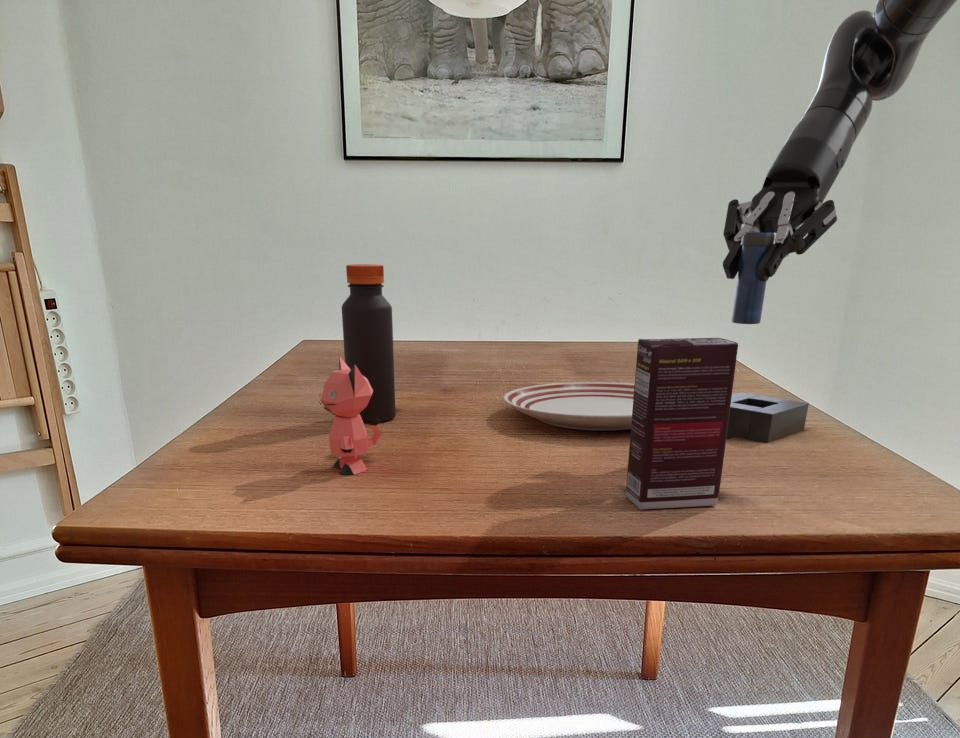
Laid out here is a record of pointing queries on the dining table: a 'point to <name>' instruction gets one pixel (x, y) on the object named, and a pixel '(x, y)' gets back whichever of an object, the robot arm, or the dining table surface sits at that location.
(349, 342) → the bottle
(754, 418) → the holder
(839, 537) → the dining table surface
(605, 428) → the dinner plate
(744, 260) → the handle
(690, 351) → the supplement box
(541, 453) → the dining table surface
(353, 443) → the cat figurine
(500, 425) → the dining table surface
